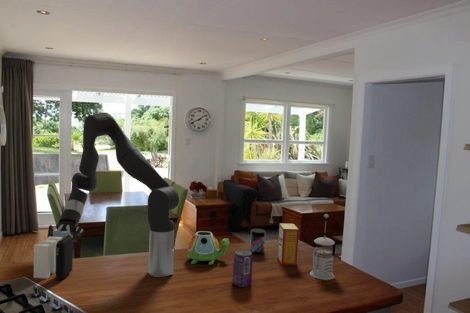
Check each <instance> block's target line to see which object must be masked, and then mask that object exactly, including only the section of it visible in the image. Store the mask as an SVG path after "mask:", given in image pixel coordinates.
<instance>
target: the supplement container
mask: <svg viewBox="0 0 470 313" xmlns="http://www.w3.org/2000/svg"><path fill="white" fill-rule="evenodd" d="M249 245H250V247H249V251H251V252H252V253H253V254H252V255H256V254H261V255H263V254H264V253H265V245H266V230H265V229H262V228H252V229H250V243H249Z"/></svg>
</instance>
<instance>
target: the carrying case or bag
mask: <svg viewBox="0 0 470 313" xmlns="http://www.w3.org/2000/svg"><path fill="white" fill-rule="evenodd" d="M72 237H73V236H72ZM72 237H71V236H70V235H67V236H65V237H64V238H62V239H61V240H60V241H58V242H57V244H56V272H55V278H56V279H57V280H59V281H61V280H63V279H64V278H66V277H67V276H68V275H69V274H70V273H71V272H72V270H73V249H74V248H73V246H74V245H73V243H74V242H73V239H72Z"/></svg>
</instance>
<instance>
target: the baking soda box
mask: <svg viewBox="0 0 470 313" xmlns="http://www.w3.org/2000/svg"><path fill="white" fill-rule="evenodd" d="M278 227H279V228H278V240H277V241H278V243H277V259H278V261H279V262H280V265H281V266H297V264H298V261H297V260H298V248H299V234H300V230H299V229H300V228H298V227H297V225H295V224H294V223H287V222H285V223H284V222H283V223H282V222H280V223H279V224H278Z"/></svg>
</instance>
